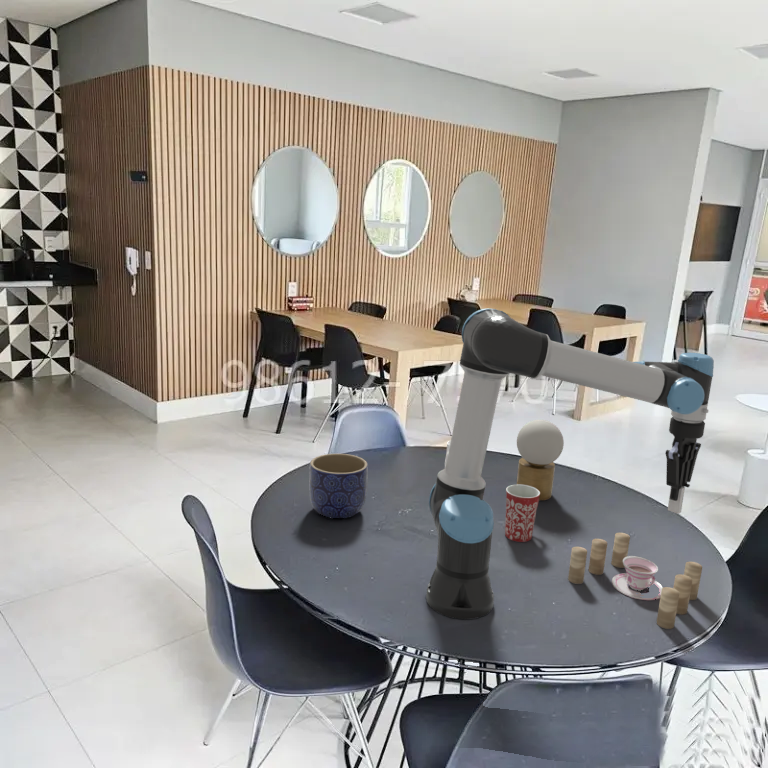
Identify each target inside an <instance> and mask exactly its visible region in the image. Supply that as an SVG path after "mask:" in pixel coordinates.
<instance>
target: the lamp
mask: <svg viewBox="0 0 768 768" xmlns="http://www.w3.org/2000/svg"><path fill="white" fill-rule="evenodd" d="M564 443H565V442H564V436H563V434H562V432H561V430H560V428H559V427H558V426H557V425H555V424H554V423H553V422H551V421H550V420H549V421H548V420H545V419H534V420H530V421H529V422H526V424H523V426H522V427H521V428H520V429H519V431H518V433H517V436H516V448H517V451H518V454H520V456H521V458H519V460H518V465H517V474H516V475H517V476H516V484H515V485H517V484H520V485H527V486H531V487H534V488H536V489H537V490H539V492H540V495H539V502H540V501H546V500H550V499H551V498H552V494H553V486H554V480H555V479H554V478H555V469H556V464H555V463H554V462H556V460H558V459H559V457H560V456H561V454H562V452H563V451H564V450H563V449H564Z"/></svg>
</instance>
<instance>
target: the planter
mask: <svg viewBox="0 0 768 768" xmlns="http://www.w3.org/2000/svg"><path fill="white" fill-rule="evenodd" d="M368 467H369V464H368V462H367V461H366V460H365V459H364V458H362V457H360V456H357V455H353V454H349V453H348V454H347V453H326V454H322V455H317V456H315V457H314V458H312V459H311V460H310V463H309V477H308V478H309V479H308V480H309V482H308V487H309V488H308V489H309V500H310V504H311V506H312V508H313V509H314V511H315V512H316V513H317V514H319V515H320V514H321V516H322V515H323V516H322V517H324V516H326V517H325V518H327V517H331V518H330V519H333V518H344V519H348V518H347V517H349V518H351V516H352V517H354V516H356V515H357V514H358V513H359V512H360V511H361V510H362V509H363V507H364V505H365V503H366V499H367V498H366V497H367V489H368V488H367V487H368V475H369V474H368V473H369V472H368V471H369V469H368Z"/></svg>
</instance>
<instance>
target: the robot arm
mask: <svg viewBox="0 0 768 768" xmlns="http://www.w3.org/2000/svg"><path fill="white" fill-rule="evenodd" d="M461 340H462V344H463V345H462V349H461V354H460V360H459V366H460V367H461V369H462V370H463V372H464V374H463V377H462V378H463V379H462V385H461V389H460V393H459V400H458V404H457V408H456V412H455V413H456V414H455V418H454V423H453V429H452V435H451V439H450V440H451V443H450V448H449V453H448V458H447V463H446V468H445V467H444V468H443V469H442V470H441V469H440V471H439V472H438V473H437V476H436V480H435V483H434V484H433V486H432V489H431V490H430V493H429V498H428V499H429V500H428V505H429V510H430V513H431V516H432V519H433V522H434V526H435V529H436V533H437V552H436V553H437V554H436V564H435V565H436V566H435V569H434V571H433V573H432V575H431V577H430V580H429V582H428V584H427V586H426V597H425V598H426V599H425V600H426V602H427V604H428V606H429V607H430V608H431V609H432V610H434V611H435V612H436V613H439V614H441V615H443V616H446V617H448V618H453V619H459V620H472V619H479V618H483V617H484V616H487V615H488V614H489V613H491V611H492V609H493V607H494V601H495V599H494V598H495V595H494V590H493V588H492V586H491V579H490V574H489V569H490V558H491V557H490V556H491V551H492V550H491V547H492V538H493V530H494V527H495V526H494V523H495V522H494V521H495V520H494V511H493V509H492V507H491V505H490V504H489V503H488V502H487V501H485V500H484V495H485V490H486V486H487V485H486V484H487V483H486V480H485V479H484V478H483V477H482V473H483V468H484V463H485V458H486V454H487V450H488V446H489V439H490V436H491V431H492V426H493V420H494V416H495V412H496V407H497V404H498V403H497V402H498V399H499V394H500V388H501V383H502V381H503V379H504V378H506V377H508V376H510V374H513V375H518V376H523V377H527V378H532V379H537V378H539V377H540V376H542V377H547V378H551V379H555V380H558V381H563V382H566V383H571V384H574V385H578V386H582V387H586V388H591V389H594V390H597V391H603V392H606V393H611V394H614V395H619V396H622V397H626V398H630V399H634V400H638V401H642V402H647V403H650V404H653V405H655V406H660V407H665V408H668V409H670V411H671V413H670V414H671V417H670V421H669V422H670V423H669V426H668V427H669V428H668V432H669V433H670V434H671V435H673V437H674V438H673V440H672V443H671V449H670V450H669V449H666V450H665V457H666V474H665V475H666V476H665V477H666V478H665V479H666V483H665V484H666V485H667V486H670V492H669V497H668V505H667V511H668V512H672V513H673V514H674V513H675V514H678V515H679V514H681V513H682V509H683V502H684V495H685V489H686V488H690V487H691V484H689V483H691V481H692V477H693V472H694V470H695V465H696V461H697V458H698V454H699V451H700V449H701V447H702V443H700V442H697V440H698V439H701V438H703V437H704V432H705V428H706V427H705V426H706V423H705V420H706V417H707V414H708V413H709V412H710V411H709V409H708V406H709V405H708V404H709V399H710V398H709V397H710V393H711V387H712V381H713V377H714V368H715V367H714V359H713V357H712V356H710V355H709V354H704V353H698V352H682V353H681V354H679V357H678V360H677V361H673V362H668V361H665V362H664V361H645V360H642V361H631V360H626V359H622V358H618V357H615V356H611V355H607V354H604V353H600V352H596V351H593V350H588V349H584V348H581V347H578V346H577V347H576V346H573V345H569V344H567V343H566V344H565V343H562V342H559V341H554V340H551V338H550V337H549V335H548V334H546V333H543V332H540V331H536V330H534V329H531V328H529V327H528V326H525V325H524V324H522V323H520V322H518V321H516V320H515V319H513V318H512V317H510V316H509V315H508V314H507V313H506V312H504V311H503V310H500V309H496V308H488V307H487V308H482V309H479V310H476V311H474V312H473V313H472V314H470V315H469V316H468V317H467V318H466V320H465V322H464V324H463V325H462V329H461Z"/></svg>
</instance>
